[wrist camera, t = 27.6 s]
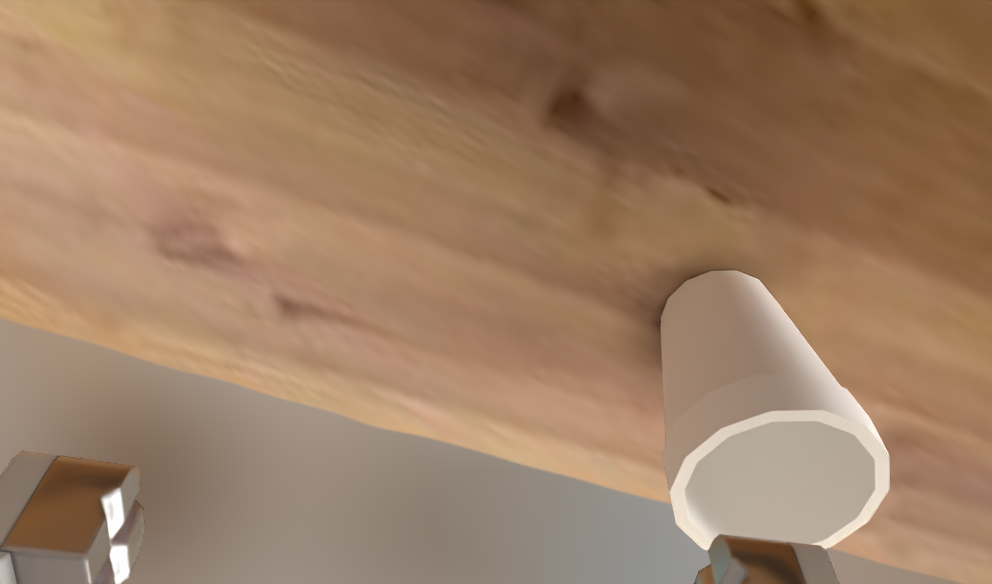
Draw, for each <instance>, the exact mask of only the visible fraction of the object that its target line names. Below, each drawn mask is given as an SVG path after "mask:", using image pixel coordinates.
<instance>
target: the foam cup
mask: <svg viewBox="0 0 992 584" xmlns="http://www.w3.org/2000/svg"><path fill="white" fill-rule="evenodd" d="M660 319H661V325H660V327H661V351H662V375H663V399H664V423H665V447H664V449H663V452H662V459H663V464H664V469H665V474H666V478H667V483H668V488H669V493H670V497H671V502H672V507H673V511H674V516H675V520H676V524H677V525H678V526H679V527H680V528H681V529H682V530H683V531H684V532H685V533H686V534H687V535H688V536H689V537H690V538H691V539H693V540H694V541H695V542H696V543H697V544H698V545H699V546H700V547H701V548H702V549H705V550H709V548H710V546H711V543H712V541H713V539H714V538H716V537H717V536H718V535H719V534H722V535H732V536H741V537H751V538H760V539H770V540H779V541H784V542H794V543H803V544H811V545H820V546H822V547H823V548H824V549H826V548H829V547H832V546H833V545H835V544H836V543H838V542H839V541H841V540H842V539H844V538H845V537H847V536H848V535H850V534H851V533H853V532H854V531H855V530H857V529H858V528H860V527H861V526H863V525H864V524H866V523H867V522H868V521H869V520H870V518H871V517H872V515H873V514H874V512H875V511H876V509H877V508H878V506H879V504H880V503H881V501H882V500H883V498H884V497H885V495H886V494H887V492H888V491H889V453H888V452H887V450H886V448H885V446H884V444H883V442H882V440H881V438H880V436H879V434H878V432H877V431H876V429H875V427H874V425H873V423H872V421H871V419H870V417H869V416H868V415H867V413H866V412H865V411H864V410H863V408H862V407H861V406H860V405H859V403H858V402H857V401H856V400H855V398H854V397H853V396H852V395H851V393H850V392H849V391H848V390H847V389H846V388H843V387H841V386H840V385H839V383H838V382H837V381H836V379H835V378H834V377H833V375H832V374H831V373H830V372H829V370H828V369H827V368H826V366H825V365H824V364H823V362H822V361H821V360H820V358H819V357H818V356H817V354H816V353H815V352H814V350H813V349H812V348H811V346H810V345H809V344H808V342H807V341H806V340H805V338H804V337H803V336H802V334H801V333H800V332H799V330H798V329H797V328H796V326H795V325H794V324H793V322H792V321H791V320H790V318H789V317H788V316H787V314H786V313H785V312H784V310H783V309H782V308H781V306H780V305H779V304H778V302H777V301H776V300H775V299H774V297H773V296H772V295H771V294H770V292H769V291H768V290H767V289H766V287H765V286H764V285H763V284H762V283H761V281H760V280H759V279H757V278H754V277H752V276H749V275H747V274H744V273H742V272H740V271H737V270H733V271H709V272H707V273H704V274H702V275H699V276H697V277H694V278H692V279H689V280H687V281H685V282H684V283H683V284H682V285H681V286H680V287H679V288H678V289H677V290H676V291H675V292H674V293H673V294H672V295H671V296H670V297H669V298H668V300H667V302H666V305H665V308H664V310H663V313H662V316H661V318H660Z"/></svg>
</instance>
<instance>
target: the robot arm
mask: <svg viewBox="0 0 992 584" xmlns="http://www.w3.org/2000/svg"><path fill="white" fill-rule="evenodd" d="M140 487H141V479H140V471H139V468H138V467H135V466H130V465H124V464H117V463H110V462H103V461H96V460H89V459H82V458H75V457H68V456H58V455H51V454H44V453H36V452H29V451H21V452H20V453H19V454H17V455H16V456H15V457H13V458H12V459H11V460H10V462H9V463H8V465H7V466H6V468H5V469H4V471H3V472H2V474H1V475H0V584H120V583H121V582H122V581H124V580H125V579H127V578H128V577H129V576H130V575H131V573H132V570H133V568H134V565H135V563H136V561H137V558H138V554H139V550H140V547H141V542H142V539H143V532H144V508H143V507H142V506H141V505H140V504H139V503H138V502H137V501H136V500H135V498H136V496H137V494H138V491H139V489H140ZM708 553H709V558H710V562H711V564H710V565H708V566H706V567H705V568H703V569H701V570H700V571H699V572H698V574H697V577H696V579H695V582H694V584H839V581H838V579H837V576H836V574H835V571H834V569H833V567H832V564H831V561H830V559H829V556H828V554H827V552H826V551H825V549H824V548H823V547H822V546H820V545H811V544H803V543H794V542H784V541H779V540H770V539H760V538H751V537H741V536H732V535H722V534H719V535H718V536H717V537H716V538H714V539H713V541H712V543H711V546H710V548H709V550H708Z"/></svg>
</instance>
